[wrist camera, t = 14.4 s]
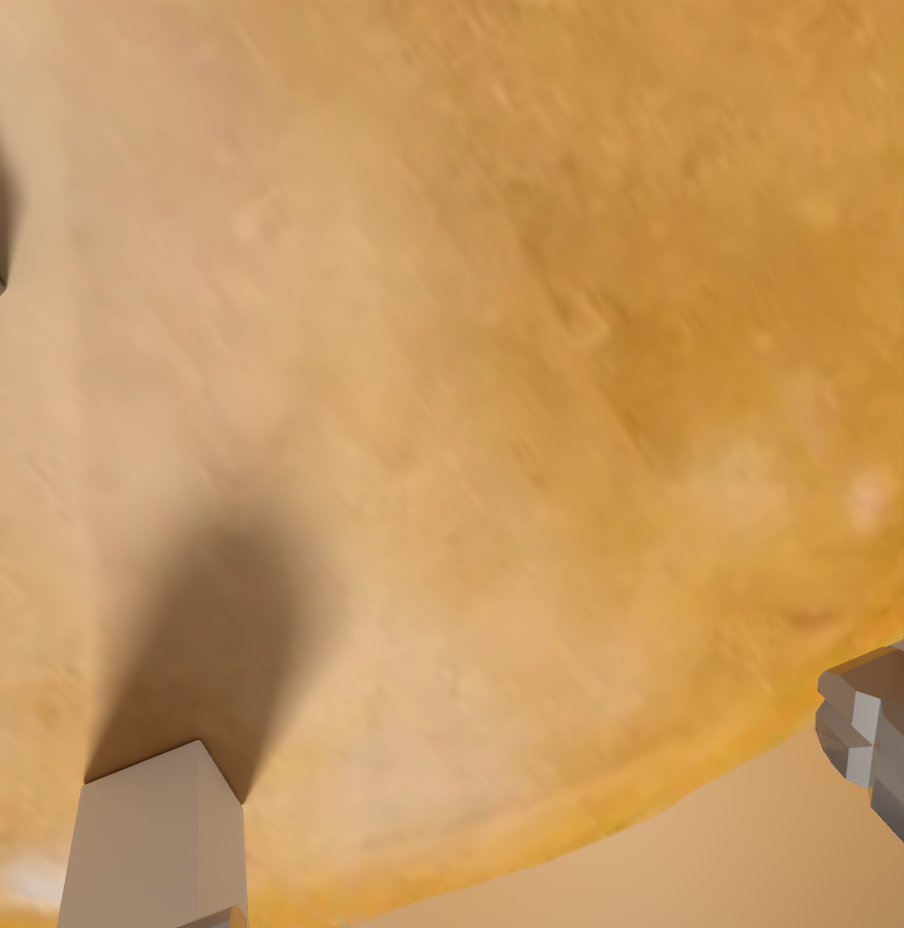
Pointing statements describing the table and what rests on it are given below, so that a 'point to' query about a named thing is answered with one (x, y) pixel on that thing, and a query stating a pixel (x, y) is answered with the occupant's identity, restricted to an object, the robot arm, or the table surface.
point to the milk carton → (156, 846)
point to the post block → (2, 286)
